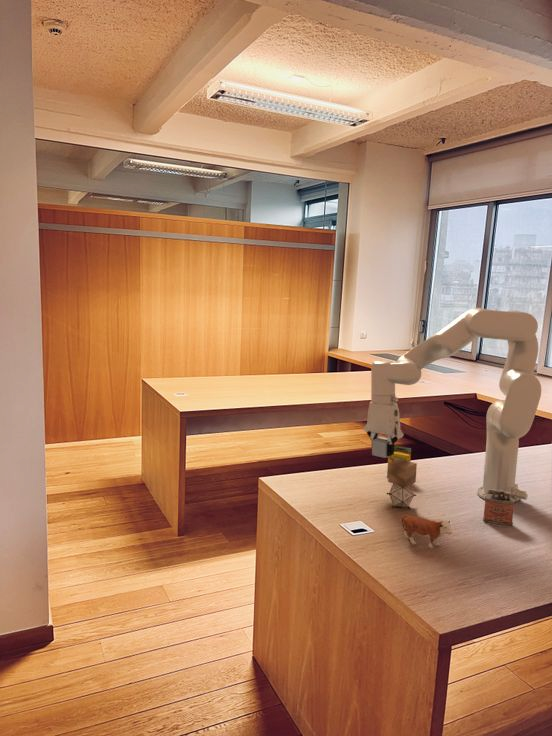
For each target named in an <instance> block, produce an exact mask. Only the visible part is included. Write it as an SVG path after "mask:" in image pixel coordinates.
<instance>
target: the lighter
mask: <svg viewBox="0 0 552 736" xmlns="http://www.w3.org/2000/svg"><path fill="white" fill-rule="evenodd" d="M488 494H492V496H489V495H487V496H485V499H484V510H483V517H482V522H483V521H484V522H486V523H485V524H487V523H490V524H489V525H492V524H494V525H493V526H498V525H500V527H507V526H509V528H511V526H512V527H513V526H514V522H513V521H514V518H513V517H514V510H515V509H514V508H515V506H514V505H515V504H516V502H515V500H514V499H511V498H510V497H511V492H505V491H504V490H502V489H500V490H499V491H498V490H494V489H488ZM495 495H497V496H495ZM505 496H507V498H506V497H505ZM484 522H483V523H484Z"/></svg>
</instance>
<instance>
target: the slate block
mask: <svg viewBox="0 0 552 736" xmlns="http://www.w3.org/2000/svg"><path fill="white" fill-rule="evenodd" d="M387 444H389V443H388V439H387V437H383V436H378V438H376V439H374V440H372V441H371V455H372V456H375V457H380V458H384V459H386V458H387V459H388V457H389V456H387Z"/></svg>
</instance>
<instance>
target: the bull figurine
mask: <svg viewBox="0 0 552 736" xmlns="http://www.w3.org/2000/svg"><path fill="white" fill-rule="evenodd" d="M450 522H451V521H450V520H442V519H441V518H436V519H435V518H425V517H424V518H422V517H418V516H413V515H408V514H405V515H403V516H402V517H401V525H402V528H403V534H404V537H405V538H406V539H408V540H410V544H412V545H413V546H415V545H417V542H416V541H415V540H414V538H413V533H414V532H416V534H417V535H418V536H419V537H422V536H429V544H428V545H427V546H428V547H429V549H431V550H432V549H434V546H433V543H434V544H435V545H436V547H440V546H441V544H440V542H439V539H440V538H441V537H443V536H444V535H452V534H453V533H454V532H453V530H452V525H451V523H450ZM434 541H435V542H434Z"/></svg>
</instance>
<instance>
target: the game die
mask: <svg viewBox="0 0 552 736" xmlns="http://www.w3.org/2000/svg"><path fill="white" fill-rule="evenodd" d="M386 495H389V498H390V501H391V503H392V509H394V508H395V507H405V508H408V509H409V510H410V509H411V507H410V505H411V503H412V501H413V499H414V497H416V496H417V494H414V492H413V490H412V487H411V485H409V486H407V487H403V486H400V485H396V484H393V483H392V486H391V487H390V490H389V492H386Z"/></svg>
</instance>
